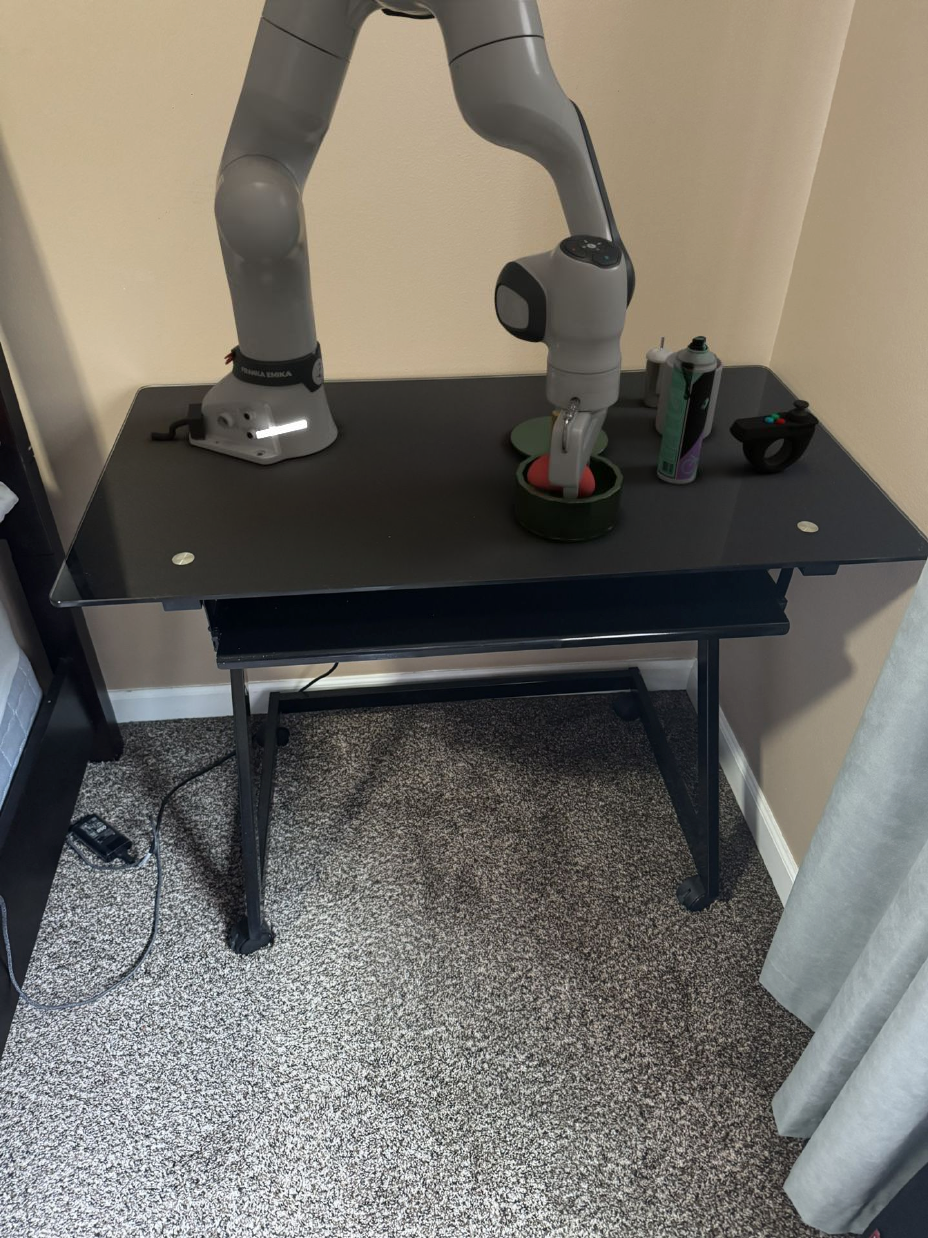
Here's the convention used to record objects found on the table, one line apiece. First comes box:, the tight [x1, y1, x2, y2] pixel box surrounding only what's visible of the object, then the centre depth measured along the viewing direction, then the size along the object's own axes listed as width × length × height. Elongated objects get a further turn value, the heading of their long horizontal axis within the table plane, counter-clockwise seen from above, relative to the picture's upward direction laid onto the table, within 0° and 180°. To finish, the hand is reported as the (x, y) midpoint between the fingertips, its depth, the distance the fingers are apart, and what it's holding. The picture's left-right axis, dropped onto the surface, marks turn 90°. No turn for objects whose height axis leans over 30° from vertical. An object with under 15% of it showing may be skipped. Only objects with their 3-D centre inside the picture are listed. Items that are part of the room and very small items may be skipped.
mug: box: [655, 351, 724, 440], centre depth 132 cm, size 12×8×11 cm
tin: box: [514, 451, 624, 543], centre depth 115 cm, size 14×14×6 cm
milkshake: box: [643, 336, 675, 409], centre depth 141 cm, size 5×5×10 cm
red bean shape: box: [527, 454, 595, 498], centre depth 114 cm, size 5×9×6 cm, turn 91°
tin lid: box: [510, 409, 609, 459], centre depth 131 cm, size 15×15×5 cm
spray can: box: [656, 335, 718, 485], centre depth 119 cm, size 6×6×20 cm
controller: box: [729, 399, 820, 473], centre depth 124 cm, size 4×12×10 cm, turn 103°
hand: (576, 483), depth 114 cm, fingers closed on red bean shape, 5 cm apart
